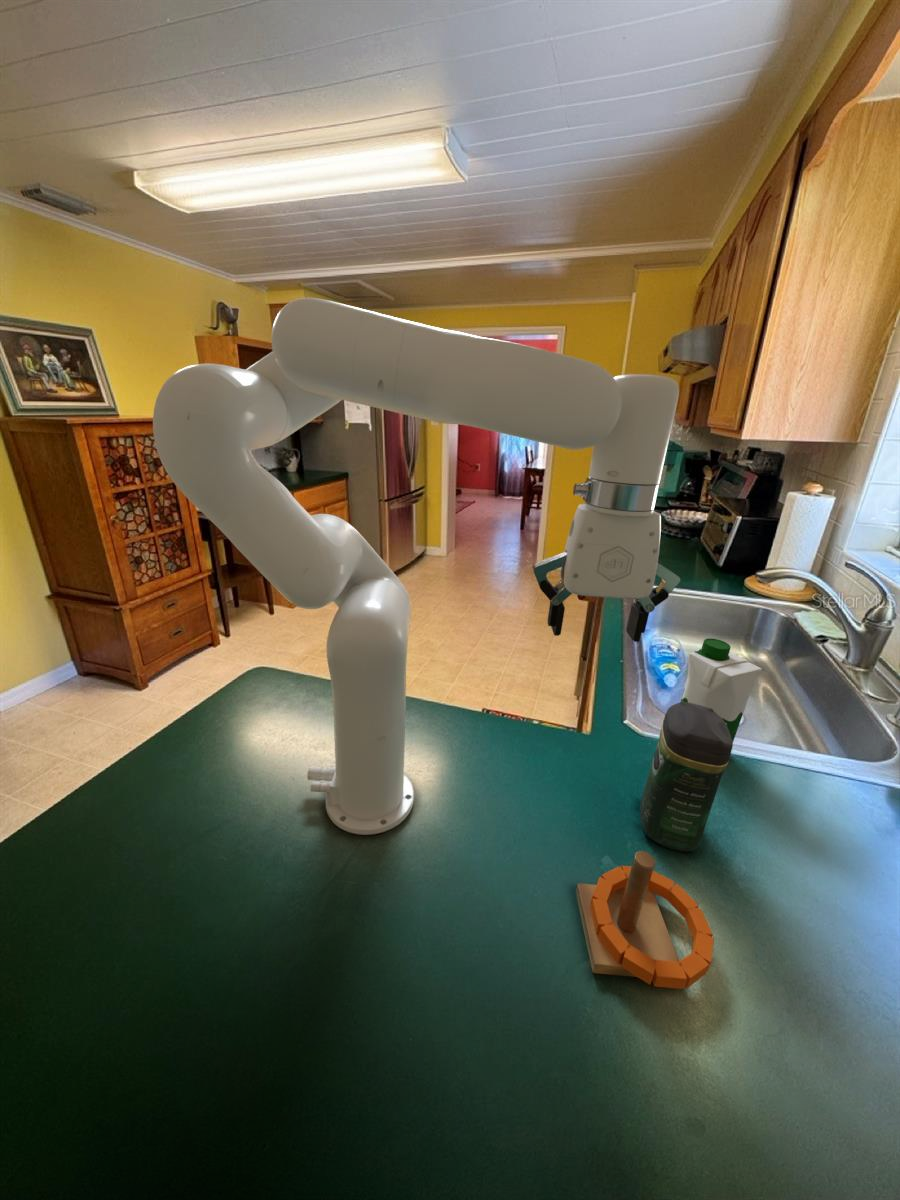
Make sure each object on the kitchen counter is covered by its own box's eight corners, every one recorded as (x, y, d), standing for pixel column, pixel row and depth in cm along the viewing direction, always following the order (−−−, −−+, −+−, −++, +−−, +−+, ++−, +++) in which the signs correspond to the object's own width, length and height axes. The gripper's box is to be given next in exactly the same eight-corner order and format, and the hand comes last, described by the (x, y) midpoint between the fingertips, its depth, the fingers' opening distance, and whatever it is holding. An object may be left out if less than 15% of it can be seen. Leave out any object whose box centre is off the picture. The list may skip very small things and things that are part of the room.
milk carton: (693, 728, 89) (722, 634, 82) (737, 759, 82) (773, 658, 74) (659, 738, 86) (686, 640, 78) (701, 771, 78) (735, 667, 71)
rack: (592, 973, 49) (613, 896, 45) (575, 891, 57) (591, 820, 53) (679, 981, 49) (709, 905, 44) (649, 898, 57) (672, 827, 53)
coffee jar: (703, 862, 62) (744, 748, 55) (639, 843, 64) (671, 731, 57) (693, 809, 71) (728, 704, 64) (637, 793, 73) (665, 691, 66)
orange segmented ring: (606, 982, 47) (609, 971, 46) (581, 871, 58) (583, 861, 57) (731, 993, 46) (735, 983, 46) (681, 880, 58) (684, 870, 57)
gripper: (547, 497, 50) (528, 642, 56) (713, 508, 49) (674, 653, 55) (538, 487, 56) (522, 617, 63) (684, 496, 56) (652, 626, 62)
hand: (593, 634), depth 59 cm, fingers open, 9 cm apart
